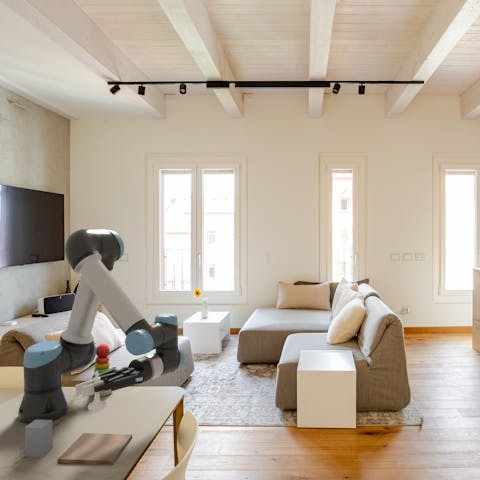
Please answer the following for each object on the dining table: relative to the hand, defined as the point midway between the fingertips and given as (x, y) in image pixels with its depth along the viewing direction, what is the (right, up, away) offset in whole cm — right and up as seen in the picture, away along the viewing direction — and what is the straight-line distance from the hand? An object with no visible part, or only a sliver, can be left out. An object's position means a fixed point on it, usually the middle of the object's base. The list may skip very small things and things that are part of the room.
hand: (79, 391), depth 114 cm
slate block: (-12, -18, +3) cm, 22 cm away
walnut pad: (+3, -18, +4) cm, 19 cm away
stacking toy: (-10, -18, +48) cm, 52 cm away
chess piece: (+3, -6, +5) cm, 8 cm away
